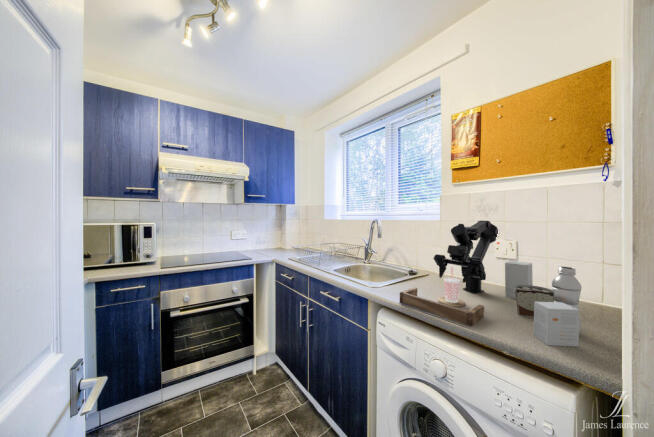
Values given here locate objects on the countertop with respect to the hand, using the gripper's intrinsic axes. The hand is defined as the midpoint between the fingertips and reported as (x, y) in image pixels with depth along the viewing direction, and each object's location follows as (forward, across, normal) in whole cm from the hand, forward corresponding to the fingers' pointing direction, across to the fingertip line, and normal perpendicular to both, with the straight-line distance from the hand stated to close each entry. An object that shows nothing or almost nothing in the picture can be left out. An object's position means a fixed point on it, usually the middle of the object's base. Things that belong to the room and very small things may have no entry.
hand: (451, 279), depth 98 cm
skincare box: (-13, +16, +27) cm, 34 cm away
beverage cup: (+6, 0, +7) cm, 9 cm away
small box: (+12, +32, +2) cm, 34 cm away
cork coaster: (+6, 0, +7) cm, 9 cm away
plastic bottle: (+5, +33, +9) cm, 35 cm away
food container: (-1, +23, +15) cm, 28 cm away
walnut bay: (+14, 0, 0) cm, 14 cm away
